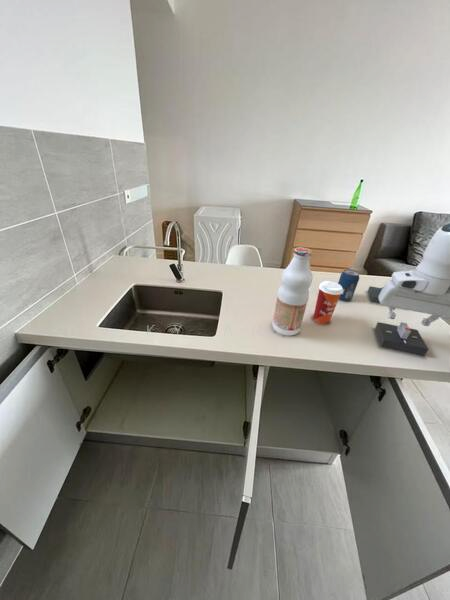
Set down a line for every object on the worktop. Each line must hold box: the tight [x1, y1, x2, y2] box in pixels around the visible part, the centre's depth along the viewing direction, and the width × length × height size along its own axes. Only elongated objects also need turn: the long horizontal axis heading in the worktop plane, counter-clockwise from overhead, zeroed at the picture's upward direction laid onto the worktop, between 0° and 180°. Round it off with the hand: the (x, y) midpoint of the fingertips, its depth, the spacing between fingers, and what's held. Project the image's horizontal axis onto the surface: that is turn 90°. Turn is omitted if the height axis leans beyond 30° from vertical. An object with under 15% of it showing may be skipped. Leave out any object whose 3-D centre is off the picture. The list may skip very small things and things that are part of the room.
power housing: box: [367, 285, 384, 305], centre depth 103 cm, size 13×10×4 cm
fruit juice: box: [271, 246, 314, 336], centre depth 76 cm, size 9×9×28 cm
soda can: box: [337, 268, 360, 302], centre depth 100 cm, size 7×7×12 cm
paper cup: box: [313, 280, 343, 325], centre depth 85 cm, size 8×8×14 cm
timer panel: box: [374, 321, 429, 357], centre depth 79 cm, size 12×10×3 cm
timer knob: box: [397, 321, 411, 339], centre depth 77 cm, size 4×2×3 cm, turn 162°
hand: (407, 321), depth 76 cm, fingers open, 8 cm apart
